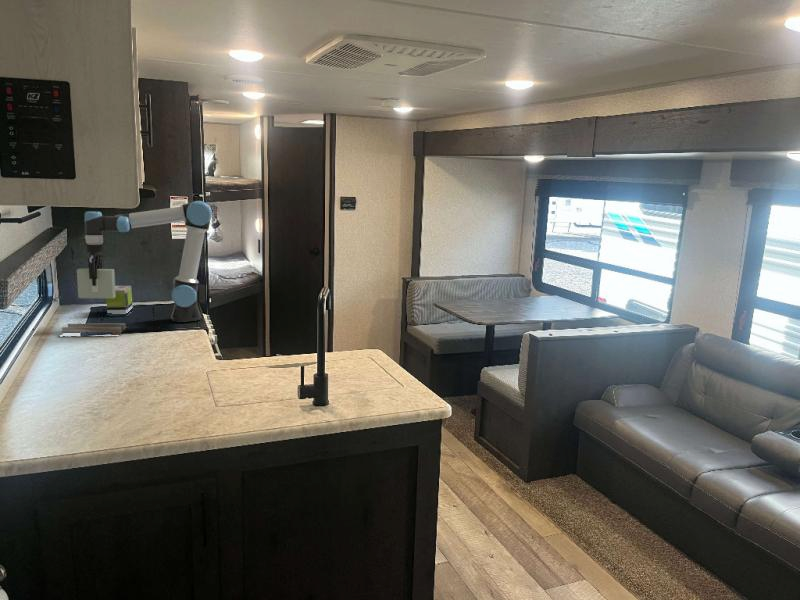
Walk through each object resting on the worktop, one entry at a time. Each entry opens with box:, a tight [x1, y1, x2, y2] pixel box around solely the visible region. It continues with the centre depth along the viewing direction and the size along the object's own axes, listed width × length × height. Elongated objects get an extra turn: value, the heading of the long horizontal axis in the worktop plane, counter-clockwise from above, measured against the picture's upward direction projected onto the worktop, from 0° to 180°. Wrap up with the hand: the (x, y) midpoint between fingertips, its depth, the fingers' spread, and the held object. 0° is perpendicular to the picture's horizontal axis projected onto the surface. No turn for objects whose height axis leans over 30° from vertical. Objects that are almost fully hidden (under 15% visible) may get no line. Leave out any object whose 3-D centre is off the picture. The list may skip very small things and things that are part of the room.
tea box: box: [105, 285, 134, 314], centre depth 337 cm, size 15×10×15 cm, turn 10°
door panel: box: [76, 268, 116, 299], centre depth 299 cm, size 4×16×14 cm, turn 98°
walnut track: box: [61, 322, 127, 335], centre depth 294 cm, size 18×26×4 cm
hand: (96, 291), depth 299 cm, fingers closed on door panel, 4 cm apart
